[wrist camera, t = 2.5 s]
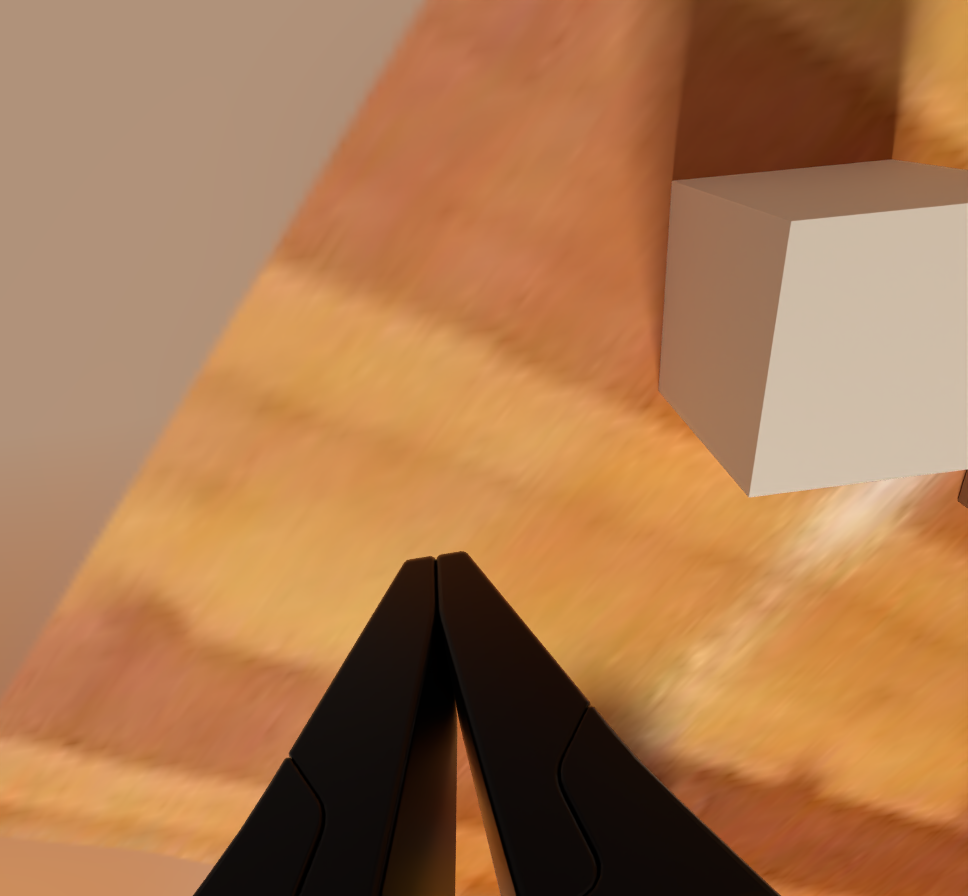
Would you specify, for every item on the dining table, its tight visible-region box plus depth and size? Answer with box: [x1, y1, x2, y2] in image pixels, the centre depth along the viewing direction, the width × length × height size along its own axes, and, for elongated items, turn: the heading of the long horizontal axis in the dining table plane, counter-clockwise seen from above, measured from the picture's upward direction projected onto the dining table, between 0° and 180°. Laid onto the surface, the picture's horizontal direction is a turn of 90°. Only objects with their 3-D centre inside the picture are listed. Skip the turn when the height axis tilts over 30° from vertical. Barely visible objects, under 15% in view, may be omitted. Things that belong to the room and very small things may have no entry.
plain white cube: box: [659, 159, 968, 497], centre depth 16 cm, size 6×6×6 cm
